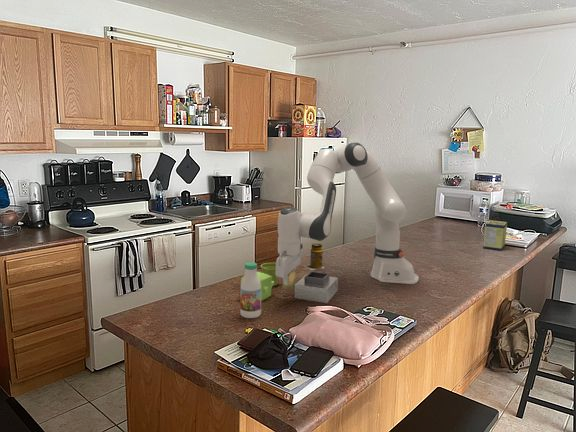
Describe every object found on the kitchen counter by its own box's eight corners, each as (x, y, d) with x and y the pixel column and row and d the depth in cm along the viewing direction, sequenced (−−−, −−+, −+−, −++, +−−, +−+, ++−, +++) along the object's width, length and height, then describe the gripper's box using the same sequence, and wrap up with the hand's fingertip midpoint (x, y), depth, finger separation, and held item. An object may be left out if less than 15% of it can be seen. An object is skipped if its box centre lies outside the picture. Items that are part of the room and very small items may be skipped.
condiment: (325, 267, 231) (326, 245, 229) (312, 270, 227) (312, 247, 225) (316, 264, 237) (317, 242, 235) (303, 266, 233) (304, 244, 231)
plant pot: (284, 282, 208) (284, 264, 207) (276, 288, 200) (277, 269, 198) (265, 279, 211) (265, 261, 210) (257, 286, 203) (257, 267, 201)
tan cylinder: (296, 286, 186) (296, 268, 185) (292, 290, 181) (292, 272, 180) (285, 285, 188) (285, 267, 186) (280, 289, 183) (280, 271, 182)
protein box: (504, 246, 284) (507, 221, 281) (501, 251, 271) (504, 225, 268) (487, 243, 290) (489, 219, 287) (482, 248, 277) (485, 223, 274)
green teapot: (252, 309, 178) (253, 286, 176) (233, 302, 183) (233, 280, 181) (278, 295, 193) (279, 274, 190) (259, 289, 198) (260, 268, 196)
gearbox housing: (337, 290, 198) (338, 272, 197) (326, 303, 184) (327, 283, 182) (307, 286, 203) (307, 268, 202) (294, 298, 189) (295, 278, 187)
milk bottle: (240, 310, 174) (240, 260, 171) (260, 310, 175) (261, 260, 171) (240, 319, 167) (240, 266, 163) (261, 318, 167) (261, 266, 164)
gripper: (286, 255, 171) (286, 290, 173) (304, 243, 190) (304, 274, 192) (271, 254, 173) (271, 288, 176) (290, 241, 192) (290, 273, 194)
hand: (288, 281), depth 184 cm, fingers closed on tan cylinder, 5 cm apart
